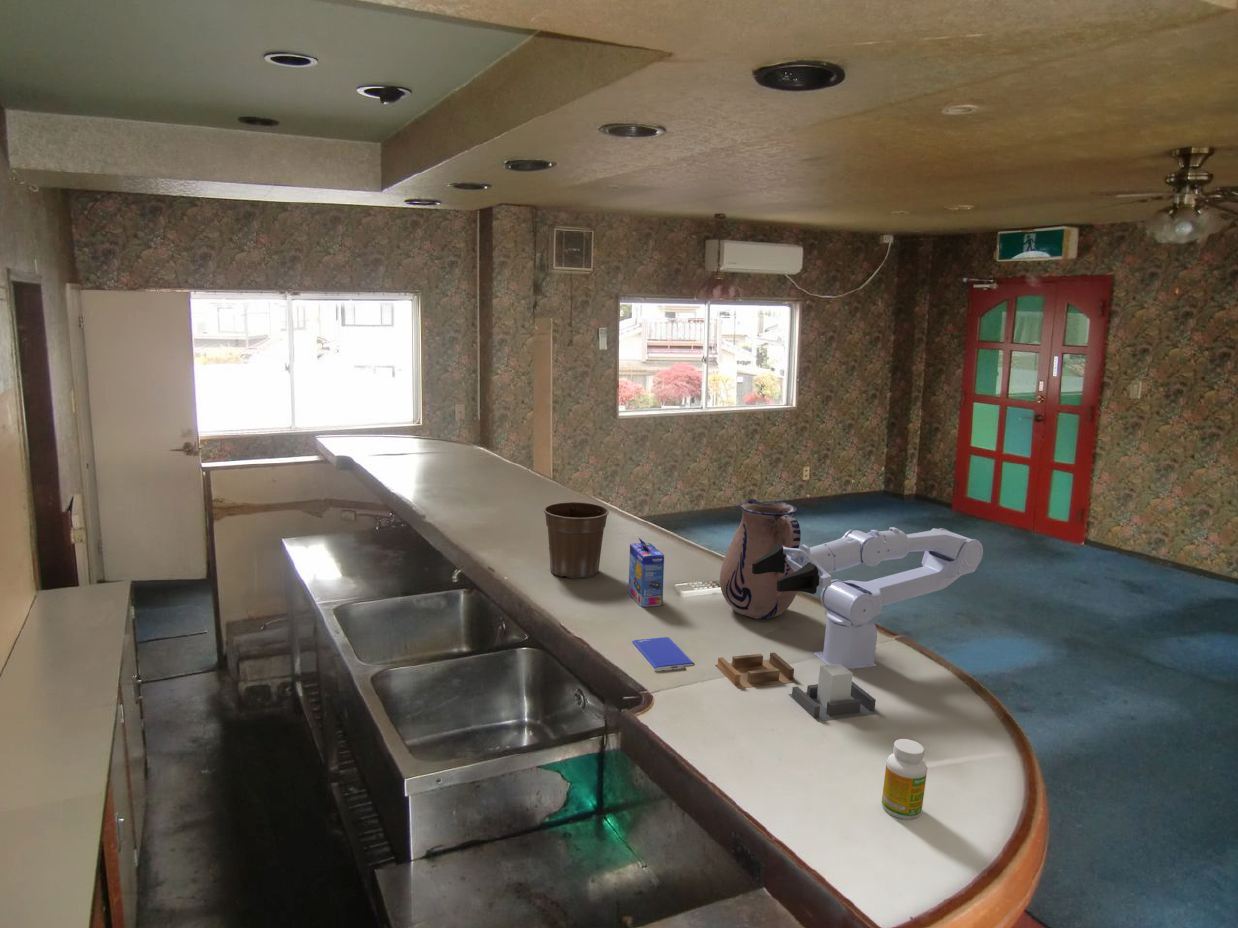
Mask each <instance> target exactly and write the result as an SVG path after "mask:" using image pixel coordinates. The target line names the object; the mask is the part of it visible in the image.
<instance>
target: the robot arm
mask: <svg viewBox="0 0 1238 928" xmlns="http://www.w3.org/2000/svg"><path fill="white" fill-rule="evenodd" d="M913 552H924V554H923V555H922V560H921V565H922V566H921V567H917V568H913V569H908V570H906V571H901V572H898V573H893V574H890V575H887V576H882V577H878V578H875V579H872V580H871V579H870V580H868V581H860V580H852V579H849V580H840V579H836V578H835V579H832V575H831V574H833V573H836V572H839V571H844V570H846V569H850V568H853V567H856V566H859V565H860V564H862V565H863V566H866V567H867V566H868V567H873V568H875V567H877V566H878V565H879V564H880V563H881V562H882V561H890V560H892V561H893V560H900V559H904V558H905V557H906V556H907V555H908V554H909V553H913ZM983 555H984V547H983V543H982V542H981V541H979V540H978V539H974V538H969V537H966V536H963V535H961V534H958V533H955V532H952V531H950V530H948V529H946V528H941V527H940V528H935V527H934V528H931V530H926V531H921V532H920V531H919V532H913V533H908V534H907V533H905V532H904V531H902V530H901V529H899V528H896V527H894V526H892V527H889V528H888V530H881V531H879V530H877V529H870V531H869V532H864V531H862V530H857V529H856V530H853V528H852V529H849V530H847V531H846V532H845V533H844V534H843V536H841V537H840V538H838V539H835V540H831V541H828V542H825V543H822V544H821V543H820V544H818V545H815V546H811V547H809V546H808V545H806V544H805V543H804V544H801V545H799V549H796V548H787V547H784V546H782V545H780V544H775V545H774V546H773V547H772V549H771V550H770V551H769V552H768V553H767V554H766V555H764V556H763V557H762V558H760V559H759V560H757V561H755V562H754V563H752V573H753V574H763V573H768V572H779V573H785V564H784V563H788V565H789V566H790V567H791V568H792V569H793V571H794V573H792V574H789V575H786V576H784V577H782V578H780V579H778V580H777V591H779V592H786V591H797V592H800V593H802V592H803V593H808V594H810V595H815V594H817V589H818V587H820V588H821V591H820V592H821V593H820V602H821V605H822V607H823V608H824V609H825V611H824V614H825V615H826V623H825V631H824V643H823V650H822V651H816V652H813V654H814V655H815V656H816V657H818V659H820V660H821V661H822V662H824V663H825V665H830V664H841V665H843V666H844V667H845V668H847V669H848V670H850V669H860V668H861V669H862V668H869V667H870V668H871V667H877V664H876V663H875V656H876V649H877V641H878V640H877V639H878V632H877V627H876V625H875V623H874V621H873V620H872V619H874V618H876V617H880V616H881V613H882V610H883V607H885V606H887V605H892V604H895V603H899V602H902V601H905V600H910V599H914V598H916V597H920V596H924V595H927V594H930V593H935V592H938V591H941V590H944V589H946V588H947V587H948V586H950V585H951V584H952V583H954V582H955V581H956V580H957V579H959V578H960V577H961V576H964V575H969V574H971V573H974V572H975V571H976V570H977V568H978V566H979V564H980V563H981V561H982V559H983Z"/></svg>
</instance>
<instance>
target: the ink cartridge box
mask: <svg viewBox="0 0 1238 928" xmlns="http://www.w3.org/2000/svg"><path fill="white" fill-rule="evenodd" d="M638 540H639V542H640V543H638V542H637V543H636V542H635V543H630V544H629V566H628V587H627V588H628V592H627V593H628V594H629V595H630V596H631V597H632V598H633V600H634V601H635V602H636V603H637V604H638V605H639V606H640V607H641V608H645V607H646V608H647V607H661V606H663V603H664V601H663V600H664V576H665V575H664V573H665V554H663V553H662V551H660V550H658V549H657V548H656V546H654V545H653V544H652V543H651V542H645V541H644V540H642V539H641V537H638Z"/></svg>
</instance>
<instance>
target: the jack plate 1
mask: <svg viewBox="0 0 1238 928" xmlns="http://www.w3.org/2000/svg"><path fill="white" fill-rule="evenodd" d="M731 658H732V660H731V663H729V662H728V660H726V658H724V657H718V658H717V664H714V666H715V667H716V668H717V670H718V671H720V673H722V675H724V676H725V677H726V678H727V679H728V680H729V681H730V683H731V684H732V685H733V686H734V687H735V688H736V689H738V690H740V689H745V688H746V689H748V688H759V687H767V686H775V685H787V684H794V683H797V681H796V680H795V678H794V673H795V668H793V667H792V666H791V665H790V664H789V663H788V662H787V661H785V660H784V659H783V658H782V657H781V656H779V655H778V654H777V653H776V652H770V653H769V658H768V659H764V655H763V654H762V653H755V654H746V655H744V654H742V655H736V656H735V655H734V656H732V657H731Z"/></svg>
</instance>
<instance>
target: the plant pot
mask: <svg viewBox="0 0 1238 928" xmlns="http://www.w3.org/2000/svg"><path fill="white" fill-rule="evenodd" d="M543 512H544V514H545V523H546V524H545V525H546V527H547V533H548V537H547V538H548V551H549V553H548V554H549V566H550V567H549V569H550V572H551V573H552V574H553V575H555V576H558V577H561V578H563V577H564V576H565V577H567V578H568V579H587V578H590V577H594V576H595V575H596V574H599V570H600V561H601V553H602V545H603V538H604V537H603V536H604V530H605V528H606V525H607V517H608V515H609V514H610V510H609V508H607V507H605V506H604V505H600V504H597V503H590V502H582V501H581V502H580V501H566V502H563V501H562V502H556V503H551V504H548V505H546V506H545V507H543Z"/></svg>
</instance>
